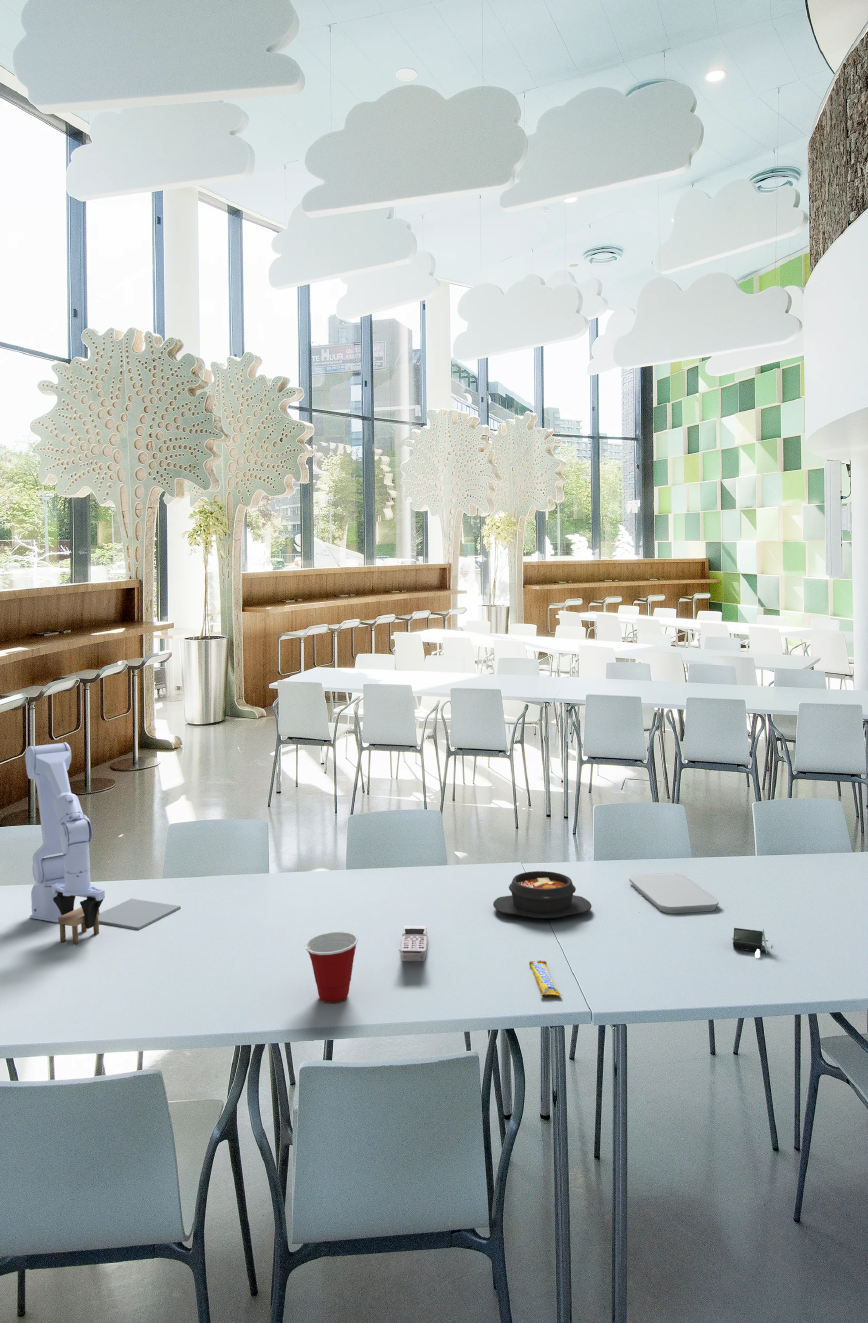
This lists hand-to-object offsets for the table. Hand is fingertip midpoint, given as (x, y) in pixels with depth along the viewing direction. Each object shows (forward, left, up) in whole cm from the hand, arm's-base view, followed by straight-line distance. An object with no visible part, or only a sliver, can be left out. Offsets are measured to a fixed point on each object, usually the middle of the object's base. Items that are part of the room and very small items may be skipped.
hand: (79, 925), depth 220 cm
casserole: (+98, +57, -3) cm, 113 cm away
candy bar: (+110, +17, -4) cm, 111 cm away
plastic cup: (+72, -6, -3) cm, 72 cm away
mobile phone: (+78, +21, -3) cm, 81 cm away
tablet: (+127, +81, -4) cm, 151 cm away
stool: (0, 0, -3) cm, 3 cm away
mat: (+2, +17, -3) cm, 17 cm away
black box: (+148, +52, -4) cm, 157 cm away
